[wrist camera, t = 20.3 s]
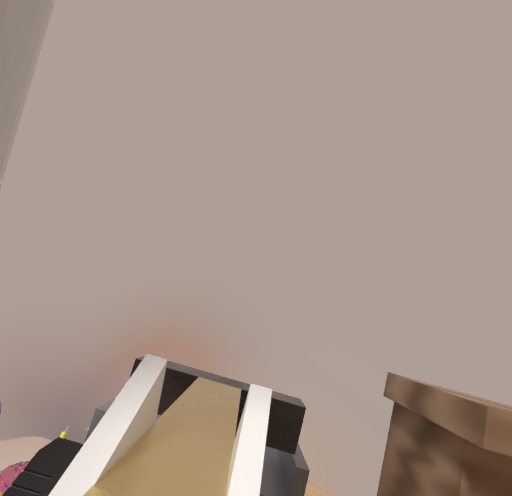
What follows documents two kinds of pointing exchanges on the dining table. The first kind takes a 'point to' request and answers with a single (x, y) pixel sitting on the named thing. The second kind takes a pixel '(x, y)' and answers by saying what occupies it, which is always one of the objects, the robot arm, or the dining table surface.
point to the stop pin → (195, 437)
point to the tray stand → (274, 465)
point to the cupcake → (15, 471)
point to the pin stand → (445, 443)
